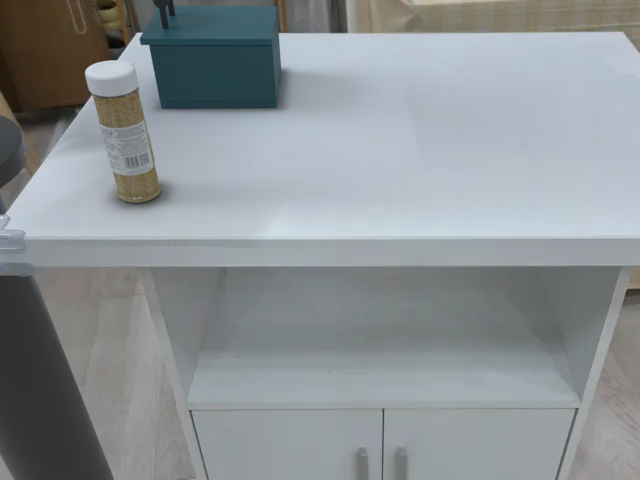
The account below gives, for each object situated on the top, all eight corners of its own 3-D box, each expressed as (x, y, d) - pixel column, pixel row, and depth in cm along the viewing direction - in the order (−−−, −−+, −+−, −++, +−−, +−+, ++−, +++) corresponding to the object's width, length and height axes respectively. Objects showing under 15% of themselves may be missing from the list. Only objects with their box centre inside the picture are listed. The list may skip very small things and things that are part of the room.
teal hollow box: (161, 108, 88) (148, 45, 82) (177, 70, 97) (167, 12, 92) (276, 108, 89) (272, 45, 83) (281, 70, 98) (277, 12, 93)
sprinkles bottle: (160, 180, 74) (133, 56, 65) (163, 201, 71) (136, 73, 62) (116, 186, 73) (83, 60, 64) (117, 207, 70) (83, 78, 61)
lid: (140, 45, 82) (131, 1, 79) (159, 11, 92) (152, -29, 89) (272, 45, 83) (268, 2, 80) (277, 12, 93) (274, -28, 90)
